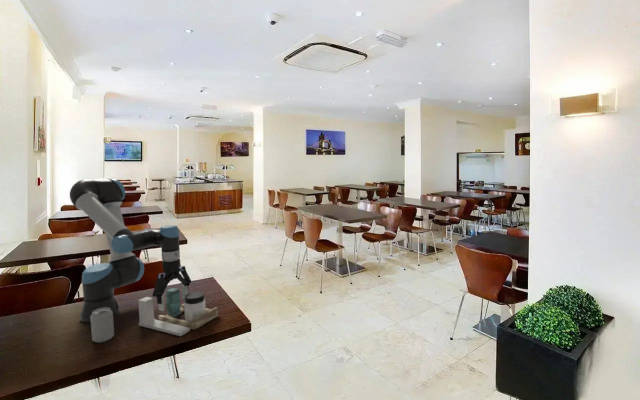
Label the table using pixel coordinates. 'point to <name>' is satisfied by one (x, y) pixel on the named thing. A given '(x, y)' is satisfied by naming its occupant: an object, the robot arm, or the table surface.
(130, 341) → the table surface
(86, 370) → the table surface
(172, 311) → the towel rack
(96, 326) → the can
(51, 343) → the table surface
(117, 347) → the table surface
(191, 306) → the jar
